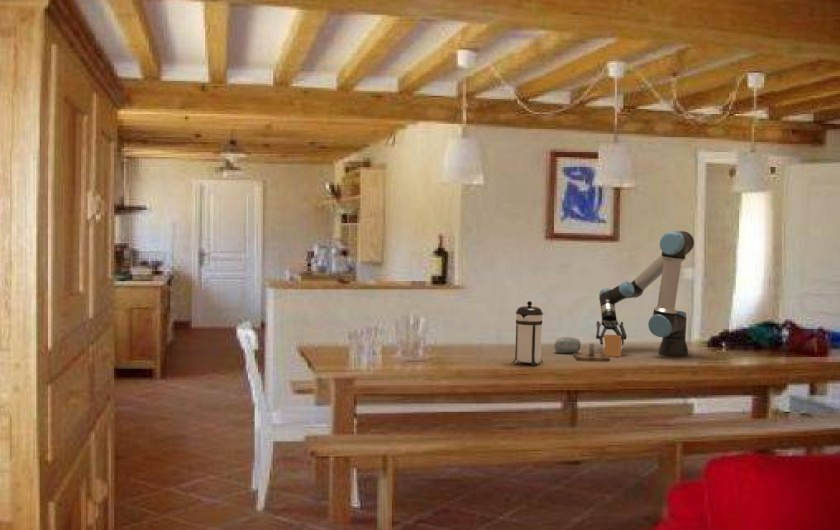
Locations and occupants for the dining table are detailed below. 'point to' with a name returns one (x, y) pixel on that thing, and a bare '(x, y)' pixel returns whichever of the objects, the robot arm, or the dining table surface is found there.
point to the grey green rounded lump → (567, 345)
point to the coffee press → (528, 334)
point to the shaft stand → (591, 355)
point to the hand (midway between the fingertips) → (612, 349)
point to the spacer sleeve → (612, 345)
